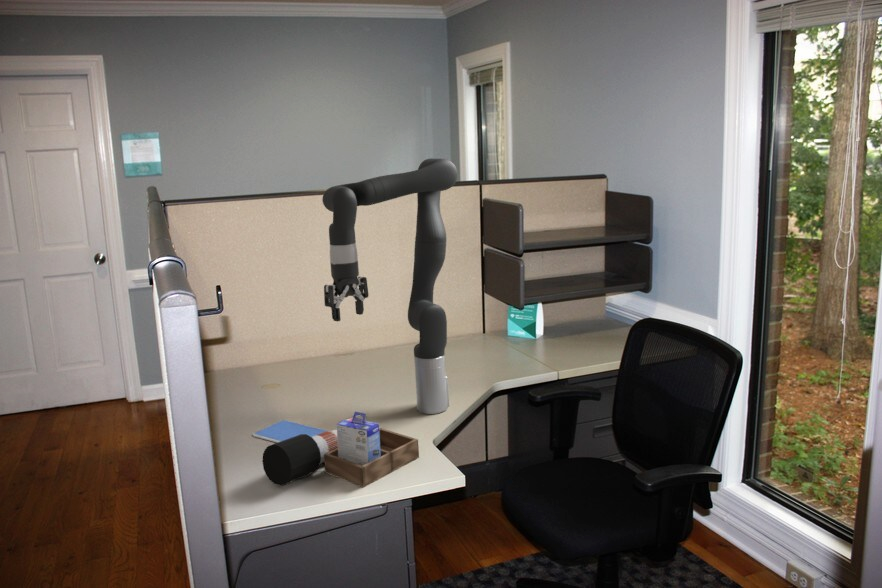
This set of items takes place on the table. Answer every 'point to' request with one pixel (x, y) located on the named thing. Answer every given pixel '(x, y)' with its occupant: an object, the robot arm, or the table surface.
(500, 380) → the table surface
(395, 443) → the slot caddy
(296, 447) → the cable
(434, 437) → the table surface
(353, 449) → the ink cartridge box
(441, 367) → the robot arm
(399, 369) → the table surface
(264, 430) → the blue flat pad
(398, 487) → the table surface
